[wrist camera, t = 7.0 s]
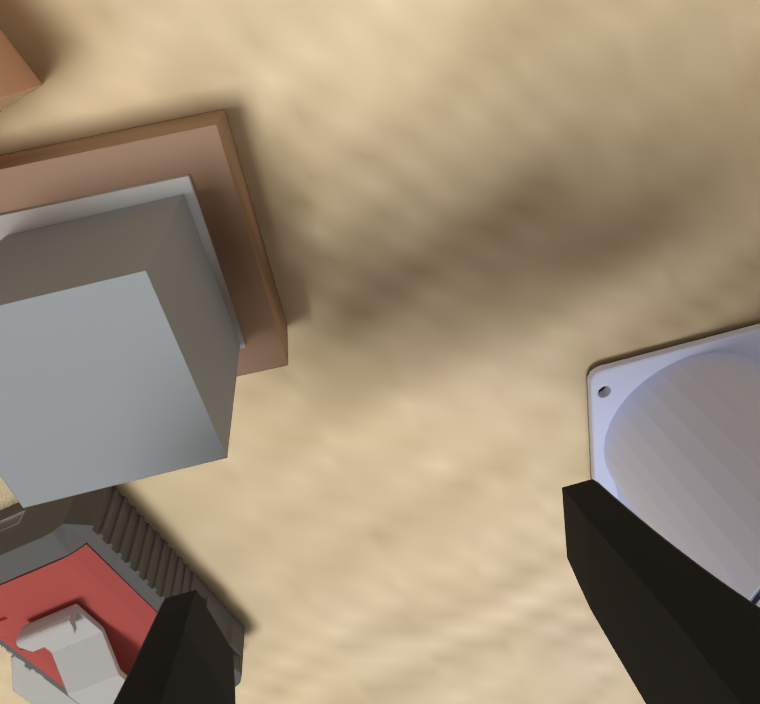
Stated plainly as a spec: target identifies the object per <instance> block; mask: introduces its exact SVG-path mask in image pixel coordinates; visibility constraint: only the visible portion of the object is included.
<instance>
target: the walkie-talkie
mask: <svg viewBox="0 0 760 704" xmlns="http://www.w3.org/2000/svg"><path fill="white" fill-rule="evenodd" d="M127 500H128V499H127V498H126V497H122V496H121V495H120V494H119V489H118V488H114V487H113V486H110V487H106V488H102V489H98V490H94V491H90V492H86V493H82V494H78V495H74V496H70V497H65V498H61V499H57V500H53V501H49V502H45V503H41V504H37V505H33V506H29V507H25V508H23V507H22V506H21V504H20V503H16V504H14V505H12V506H10V507H7V508H5V509H3V510H0V645H2V646H1V647H2V648H3V649H4V650H6V651H7V652H8V653H10V654H11V655H12V656H11V667H12V684H13V691H14V692H16V693H17V694H18V695H20V696H21V697H23V698H24V699H25V700H27V701H28V702H30V703H31V704H113V703H114V701H115V699H116V697H117V695H118V693H119V691H120V689H121V687H122V685H123V683H124V681H125V679H126V677H127V675H128V673H129V671H130V669H131V667H132V665H133V663H134V661H135V659H136V657H137V655H138V652H139V650H140V648H141V646H142V644H143V642H144V640H145V638H146V636H147V634H148V631H149V629H150V627H151V625H152V623H153V621H154V619H155V617H156V615H157V612H158V610H159V608H160V606H161V604H162V602H163V601H164V599H165V598H168V597H172V596H175V595H179V594H183V593H186V592H190V591H193V590H197V592H198V593H199V595H200V597H201V598H202V600H203V602H204V603H205V605H206V607H207V608H208V610H209V612H210V613H211V615H212V617H213V618H214V620H215V622H216V623H217V625H218V627H219V628H220V630H221V632H222V633H223V635H224V637H225V638H226V640H227V642H228V644H229V645H230V647H231V649H232V650H233V657H234V677H235V687H236V686H237V685H238V684H239V683H240V681H241V676H242V661H243V645H244V628H245V627H244V626H243V625H242V624H241V623H240V622H239V620H238V619H237V618H236V617H235V616H234V615H233V614H232V613H231V612H230V611H229V610H228V608H227V607H226V606H225V605H224V604H223V603H222V602H221V601H220V600H219V599H218V598H217V596H216V595H215V594H214V593H213V592H212V591H211V590H210V589H209V588H208V587H207V586H206V584H205V583H204V582H203V581H202V580H201V579H200V578H199V577H198V576H197V575H196V574H195V572H191V571H190V570H189V566H188V565H187V564H186V565H184V564H183V563H182V558H181V557H177V556H176V555H175V554H174V552H175V551H174V550H173V549H170V548H169V547H168V546H167V542H166V541H162V540H161V539H160V538H159V536H160V534H159V533H158V532H154V531H153V530H152V529H151V528H152V526H151V524H147V523H146V522H145V521H144V517H143V516H142V515H138V514H137V513H136V511H135V510H136V508H135V507H134V506H130V505H129V504H128V503H127Z"/></svg>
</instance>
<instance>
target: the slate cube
mask: <svg viewBox="0 0 760 704" xmlns="http://www.w3.org/2000/svg"><path fill="white" fill-rule="evenodd" d="M239 350H240V344H239V341H238V338H237V336H236V333H235V330H234V328H233V325H232V322H231V319H230V317H229V314H228V311H227V309H226V306H225V303H224V301H223V298H222V295H221V292H220V290H219V287H218V284H217V282H216V279H215V276H214V274H213V271H212V268H211V266H210V263H209V260H208V257H207V255H206V252H205V249H204V247H203V244H202V241H201V239H200V236H199V233H198V231H197V228H196V225H195V222H194V220H193V217H192V214H191V212H190V209H189V206H188V204H187V201H186V198H185V196H184V194H181V195H177V196H173V197H168V198H164V199H160V200H156V201H151V202H147V203H143V204H139V205H134V206H130V207H126V208H122V209H117V210H113V211H109V212H105V213H101V214H96V215H92V216H88V217H84V218H79V219H75V220H71V221H67V222H62V223H58V224H54V225H50V226H45V227H41V228H37V229H33V230H28V231H24V232H20V233H16V234H11V235H7V236H5V237H4V238H3V239H2V240H1V241H0V476H1V477H2V479H3V480H4V482H5V483H6V484H7V486H8V487H9V489H10V490H11V492H12V493H13V494H14V496H15V497H16V499H17V500H18V501H19V503H20V504H21V506H22V507H23V508H25V507H29V506H33V505H37V504H41V503H45V502H49V501H53V500H57V499H61V498H65V497H70V496H74V495H78V494H82V493H86V492H90V491H94V490H98V489H102V488H106V487H110V486H114V485H118V484H122V483H126V482H130V481H134V480H138V479H142V478H147V477H151V476H155V475H159V474H163V473H167V472H171V471H175V470H179V469H183V468H187V467H191V466H195V465H199V464H203V463H207V462H211V461H215V460H219V459H223V458H227V454H228V445H229V436H230V428H231V419H232V410H233V402H234V393H235V384H236V376H237V367H238V358H239Z"/></svg>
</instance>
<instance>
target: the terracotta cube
mask: <svg viewBox="0 0 760 704" xmlns="http://www.w3.org/2000/svg"><path fill="white" fill-rule="evenodd" d="M41 85H42V83H41V81H40V80H39V79H38V78H37V76H36V75H35V74H34V72H33V71H32V70H31V68H30V67H29V66H28V64H27V63H26V62H25V61H24V59H23V58H22V57H21V55H20V54H19V53H18V51H17V50H16V49H15V48H14V46H13V45H12V44H11V42H10V41H9V40H8V38H7V37H6V36H5V35H4V33H3V32H2V31H1V29H0V111H2V110H3V109H5V108H6V107H8V106H9V105H11V104H13V103H14V102H16V101H17V100H19V99H20V98H22V97H24V96H25V95H27V94H28V93H30V92H31V91H33V90H35V89H36V88H38V87H39V86H41Z"/></svg>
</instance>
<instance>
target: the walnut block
mask: <svg viewBox="0 0 760 704" xmlns="http://www.w3.org/2000/svg"><path fill="white" fill-rule="evenodd" d="M181 194H184V196H185V198H186V201H187V204H188V206H189V209H190V212H191V214H192V217H193V220H194V222H195V225H196V228H197V231H198V233H199V236H200V239H201V241H202V244H203V247H204V249H205V252H206V255H207V257H208V260H209V263H210V266H211V268H212V271H213V274H214V276H215V279H216V282H217V284H218V287H219V290H220V292H221V295H222V298H223V301H224V303H225V306H226V309H227V311H228V314H229V317H230V319H231V322H232V325H233V328H234V330H235V333H236V336H237V338H238V341H239V344H240V350H239V358H238V367H237V376H241V375H246V374H250V373H255V372H259V371H264V370H268V369H273V368H277V367H282V366H286V365H288V334H287V323H286V320H285V316H284V313H283V309H282V306H281V302H280V299H279V295H278V292H277V288H276V285H275V281H274V278H273V274H272V271H271V268H270V264H269V261H268V257H267V254H266V250H265V247H264V243H263V240H262V236H261V233H260V229H259V226H258V222H257V219H256V216H255V212H254V209H253V205H252V202H251V198H250V195H249V191H248V188H247V184H246V181H245V177H244V174H243V170H242V167H241V163H240V160H239V157H238V153H237V150H236V146H235V143H234V139H233V136H232V132H231V129H230V125H229V122H228V118H227V115H226V111H225V109H222V110H217V111H212V112H207V113H202V114H198V115H193V116H188V117H183V118H178V119H173V120H169V121H164V122H159V123H154V124H149V125H144V126H140V127H135V128H130V129H125V130H120V131H115V132H111V133H106V134H101V135H96V136H91V137H87V138H82V139H77V140H72V141H67V142H62V143H58V144H53V145H48V146H43V147H38V148H33V149H29V150H24V151H19V152H14V153H9V154H4V155H0V241H1V240H2V239H3V238H4V237H5V236H7V235H11V234H16V233H20V232H24V231H28V230H33V229H37V228H41V227H45V226H50V225H54V224H58V223H62V222H67V221H71V220H75V219H79V218H84V217H88V216H92V215H96V214H101V213H105V212H109V211H113V210H117V209H122V208H126V207H130V206H134V205H139V204H143V203H147V202H151V201H156V200H160V199H164V198H168V197H173V196H177V195H181ZM237 376H236V377H237Z"/></svg>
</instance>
